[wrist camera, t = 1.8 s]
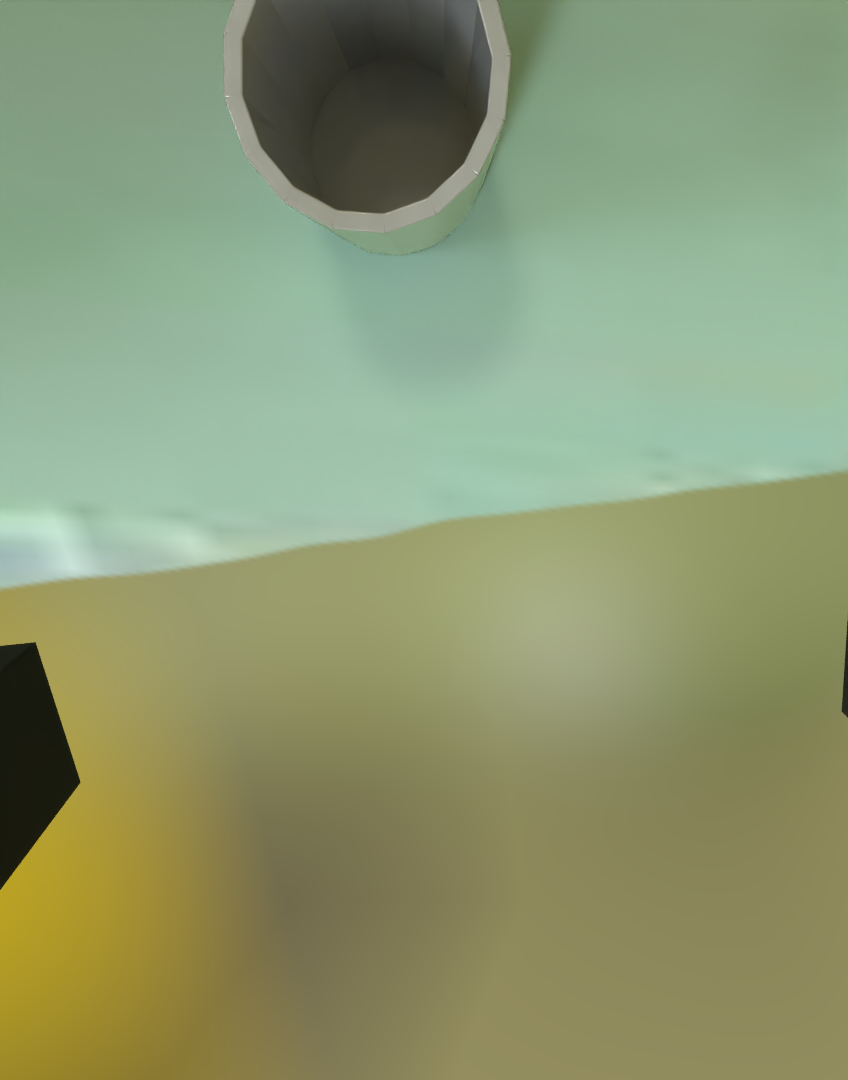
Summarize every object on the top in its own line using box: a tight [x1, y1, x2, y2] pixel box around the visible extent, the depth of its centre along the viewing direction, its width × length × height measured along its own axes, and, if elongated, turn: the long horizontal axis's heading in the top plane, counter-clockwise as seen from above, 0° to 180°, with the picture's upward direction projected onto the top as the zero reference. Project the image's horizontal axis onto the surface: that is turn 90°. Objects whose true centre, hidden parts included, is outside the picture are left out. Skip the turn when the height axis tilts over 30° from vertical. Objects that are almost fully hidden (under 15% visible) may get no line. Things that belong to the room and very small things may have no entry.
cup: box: [223, 0, 512, 255], centre depth 24 cm, size 7×7×11 cm
